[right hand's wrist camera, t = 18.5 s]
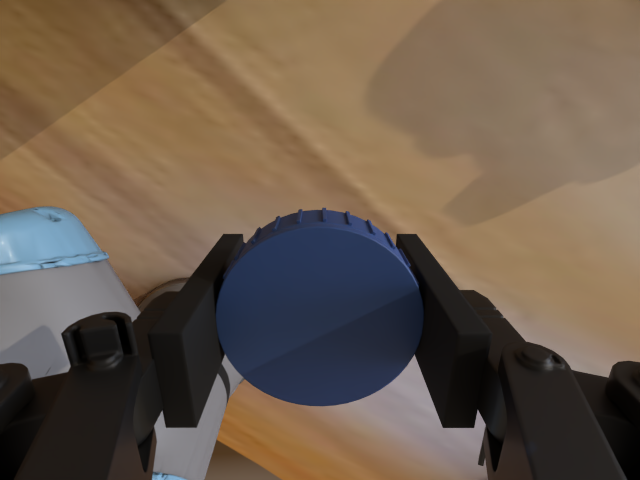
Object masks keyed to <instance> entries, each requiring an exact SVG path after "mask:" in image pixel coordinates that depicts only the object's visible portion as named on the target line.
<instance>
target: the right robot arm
mask: <svg viewBox="0 0 640 480" xmlns="http://www.w3.org/2000/svg"><path fill="white" fill-rule="evenodd" d="M242 244H243V234H223V235H222V237H221V238H220V239H219V241H218V242H217V243H216V244H215V246H214V247H213V248H212V250H211V251H210V252H209V254H208V255H207V256H206V257H205V259H204V260H203V261H202V263H201V264H200V265H199V267H198V268H197V269H196V270H195V272H194V273H193V274H192V276H191V277H190V278H181V279H176V280H172V281H169V282H166V283H164V284H162V285H160V286H158V287H157V288H155V289H154V290H153V291H151V292H150V293H149V294H148V295H147V296H146V297H145V299H144V300H143V301H142V302H141V303H140V304H139V305H138V307H137V306H136V304H135V303H134V301H133V300H132V298H131V297H130V295H129V293H128V292H127V290H126V289H125V287H124V285H123V284H122V282H121V281H120V279H119V278H118V276H117V274H116V273H115V271H114V270H113V268H112V266H111V265H110V263H109V262H108V260H107V258H109V256H108V254H107V253H106V252H103V251H101V249H100V248H99V246H98V245H97V244H96V242H95V241H94V240H93V238H92V237H91V235H90V234H89V233H88V231H87V230H86V229H85V227H84V226H83V224H82V223H81V222H80V220H79V219H78V218H77V217H76V216H75V215H74V214H72V213H71V212H69V211H67V210H64V209H62V208H58V207H35V208H29V209H24V210H19V211H14V212H9V213H5V214H0V480H204V479H205V475H206V472H207V469H208V465H209V462H210V459H211V455H212V452H213V449H214V445H215V442H216V439H217V435H218V432H219V429H220V425H221V422H222V419H223V415H224V412H225V409H226V406H227V403H228V399H229V397H230V396H231V395H232V394H233V393H234V391H235V390H236V388H237V387H238V385H239V384H240V383H241V382H242V381H243V380H244V378H243V377H242V376H241V375H240V374H239V373H238V372H237V371H236V369H235V368H234V367H233V365H232V364H231V363H230V361H229V360H228V358H227V356H226V355H225V353H224V351H223V349H222V346H221V344H220V341H219V338H218V332H217V324H216V303H217V299H218V294H219V291H220V289H221V286H222V284H223V281H224V279H223V276H224V274H225V272H226V270H227V269H228V267H229V265H230V263H231V262H232V260H235V259H234V257H235V256H236V254H237V252H238V250H239V249H240V247H241V245H242ZM396 247H397V249H400V248H401V250H402V252H403V253H404V255H405V257H406V258H407V260H408V262H409V264H410V265H411V266H410V268H411V270H412V272H413V274H414V275H415V277H416V279H417V281H418V282H419V285H420V286H418V287H419V290H420V293H421V296H422V300H423V307H424V321H423V330H422V336H421V339H420V342H419V345H418V348H417V350H416V352H415V356H416V359H417V362H418V364H419V367H420V369H421V372H422V375H423V377H424V380H425V382H426V385H427V388H428V390H429V393H430V395H431V398H432V401H433V403H434V406H435V408H436V411H437V414H438V416H439V419H440V421H441V424H442V426H443V428H474V425H475V420H476V415H477V410H479V412H480V414H481V416H482V418H483V420H484V422H485V424H486V427H485V432H484V436H483V441H482V446H481V450H480V455H479V461H478V465H481V466H483V464H484V460H485V459H486V467H487V474H488V480H640V362H633V361H622V362H618V363H616V364H615V365H613V366H612V369H611V372H610V375H609V378H607V377H602V376H597V375H592V374H588V373H583V372H578V371H574V370H571V368H570V366H569V365H568V363H567V362H566V361H565V360H564V359H563V358H562V357H561V356H560V355H558V354H557V353H555V352H554V351H552V350H550V349H548V348H546V347H543V346H541V345H537V344H534V343H530V342H526V341H525V340H524V339H523V338H522V337H521V335H520V334H519V333H518V332H517V331H516V330H515V329H514V328H513V326H512V325H511V324H510V323H509V322H508V321H507V320H506V319H505V318H503V315H502V314H501V313H500V312H499V311H498V310H496V307H495V306H494V305H493V304H492V303H491V302H490V300H489V299H488V298H486V297H485V296H483V295H481V294H479V293H478V292H476V291H474V290H459V289H458V288H457V286H456V285H455V284H454V282H453V281H452V280H451V279H450V277H449V276H448V275H447V273H446V272H445V271H444V269H443V268H442V267H441V266H440V264H439V263H438V262H437V260H436V259H435V258H434V256H433V255H432V254H431V253H430V251H429V250H428V249H427V247H426V246H425V245H424V243H423V242H422V241H421V240H420V238H419V237H418V236H417V234H397V239H396Z"/></svg>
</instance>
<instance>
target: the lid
mask: <svg viewBox="0 0 640 480" xmlns="http://www.w3.org/2000/svg"><path fill="white" fill-rule="evenodd" d="M234 259H235V260H232V262H231V263H230V265H229V267H228V269H227V270H226V272H225V274H224V276H223V279H224V281H223V284H222V286H221V289H220V291H219V294H218V299H217V303H216V324H217V332H218V338H219V341H220V344H221V346H222V349H223V351H224V353H225V355H226V356H227V358H228V360H229V361H230V363H231V364H232V365H233V367H234V368H235V369H236V371H237V372H238V373H239V374H240V375H241V376H242V377H243V378H244V379H246V380H247V381H248V382H249V383H251V384H252V385H253V386H255V387H256V388H258V389H259V390H261V391H263V392H264V393H266V394H269V395H271V396H273V397H275V398H278V399H281V400H283V401H286V402H291V403H295V404H300V405H308V406H332V405H339V404H345V403H349V402H353V401H356V400H359V399H362V398H364V397H367V396H369V395H371V394H373V393H375V392H377V391H379V390H380V389H382V388H383V387H385V386H386V385H388V384H389V383H390V382H392V381H393V380H394V379H395V378H396V377H397V376H398V375H399V374H400V373H401V372H402V371H403V370H404V369H405V367H406V366H407V365H408V363H409V362H410V360H411V359H412V357H413V356H414V354H415V352H416V350H417V348H418V345H419V342H420V339H421V336H422V330H423V321H424V307H423V300H422V296H421V293H420V290H419V287H418V286H420V285H419V282H418V281H417V279H416V277H415V275H414V274H413V272H412V270H411V268H410V266H411V265H410V264H409V262H408V260H407V258H406V257H405V255H404V253H403V252H402V250H401V248H400V249H397V247H396V246H395V244H394V243H393V242H392V240H391V238H390V236H389V234H388V233H387V232H386V233H385V234H384V233H383V232H381V231H380V230H379V229H378V228H376V227H375V226H373V225H372V223H371V221H370V220H367V221H365V220H362V219H360V218H358V217H356V216H353V215H350V213H349V212H348V211H346V213H343V212H336V211H330V210H326V208H322V210H311V211H302V209H301V210H299V211H298V213H293V214H290V215H287V216H284V217H282V218H280V216H278V217H276V220H275V221H273V222H271V223H269V224H268V225H266V226H265V227H263V228H262V229H261V228H260V227H259V228H258V229H257V230H256V232H255V234H254V235H253V236H252V237H251V238H250V239H249V240H248V242H247V243H244V242H243V244H242V245H241V247H240V249H239V250H238V252H237V254H236V256H235V257H234Z"/></svg>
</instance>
